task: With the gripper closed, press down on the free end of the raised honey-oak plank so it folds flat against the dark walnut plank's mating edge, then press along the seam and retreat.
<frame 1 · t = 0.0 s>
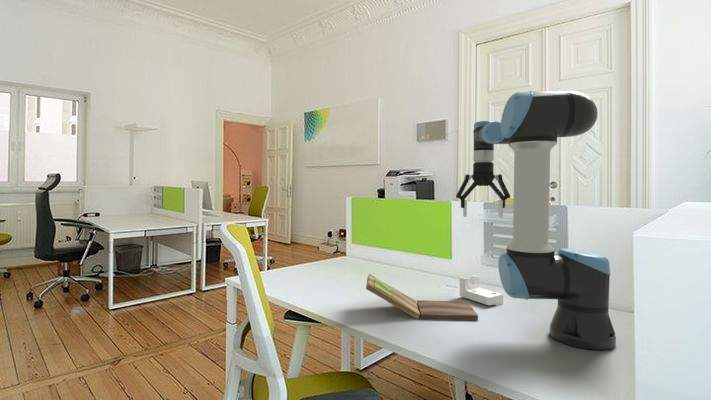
hand: (482, 216, 152), 28 cm above the table, fingers open, 13 cm apart
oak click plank: (392, 294, 125), point 5 cm above the table, hinge at 30.0°
walnut laid plank: (445, 312, 124), on the table
bracket: (480, 302, 136), on the table
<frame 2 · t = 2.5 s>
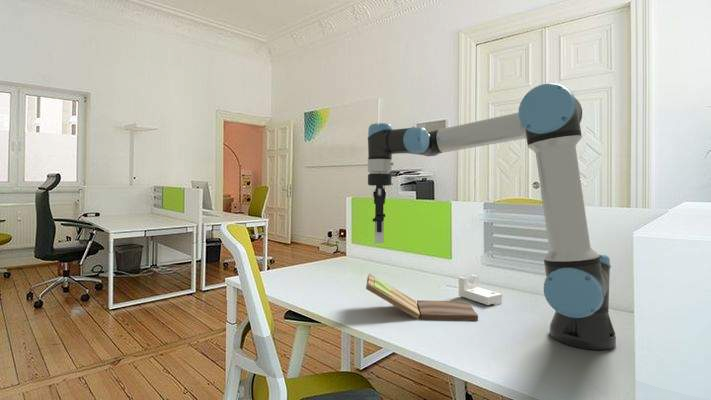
hand: (379, 239, 125), 23 cm above the table, fingers open, 13 cm apart
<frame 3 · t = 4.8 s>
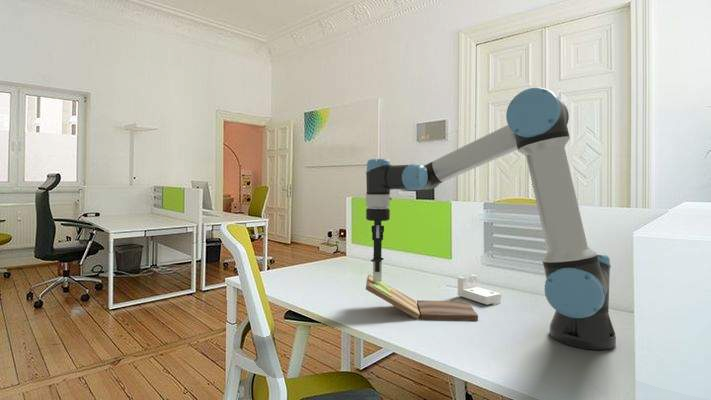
hand: (377, 281, 125), 10 cm above the table, fingers closed
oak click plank: (392, 295, 125), point 5 cm above the table, hinge at 29.4°, touching gripper
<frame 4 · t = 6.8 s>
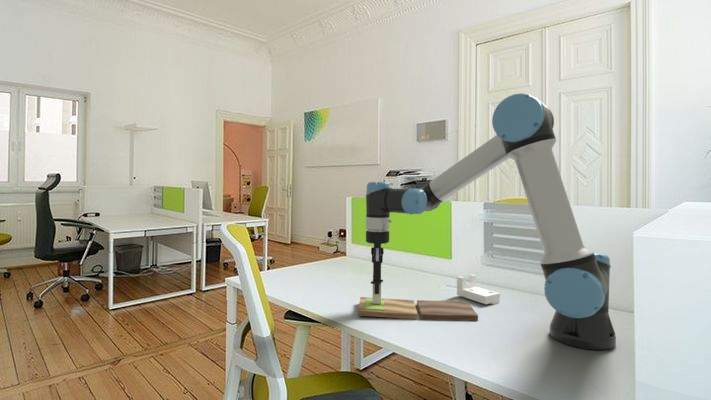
hand: (376, 302, 125), 3 cm above the table, fingers closed
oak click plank: (387, 307, 125), point 1 cm above the table, hinge at 2.5°, touching gripper
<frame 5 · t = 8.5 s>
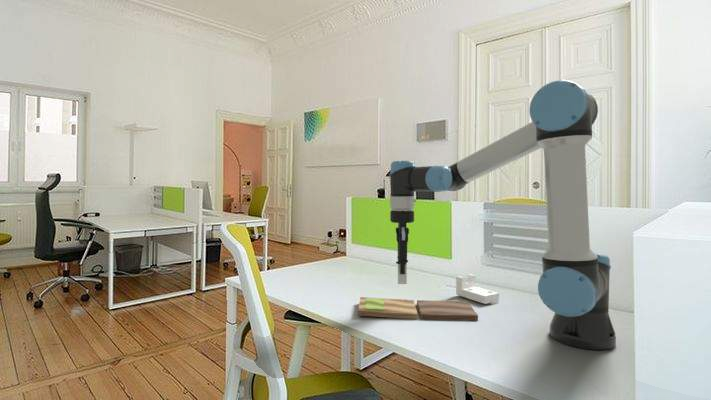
hand: (402, 283, 124), 9 cm above the table, fingers closed
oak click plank: (387, 307, 125), point 1 cm above the table, hinge at 2.5°
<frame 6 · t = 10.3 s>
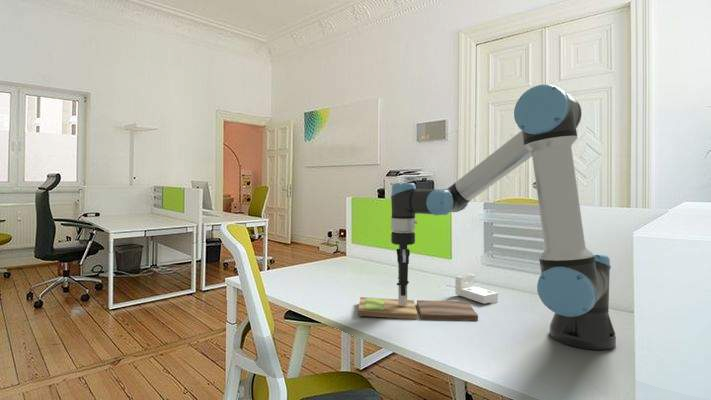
hand: (402, 304, 125), 2 cm above the table, fingers closed
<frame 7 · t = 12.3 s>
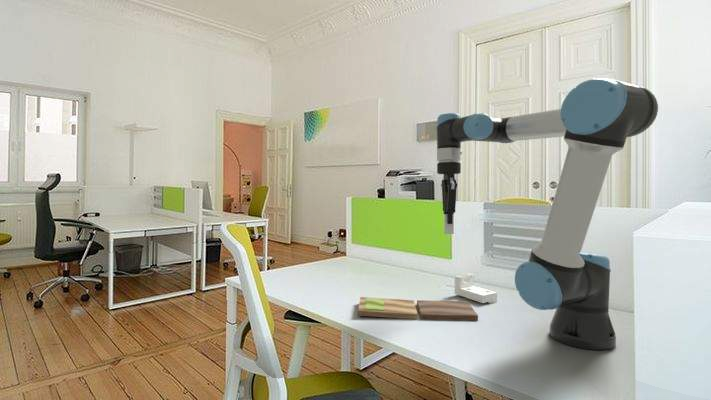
hand: (448, 233, 128), 24 cm above the table, fingers closed
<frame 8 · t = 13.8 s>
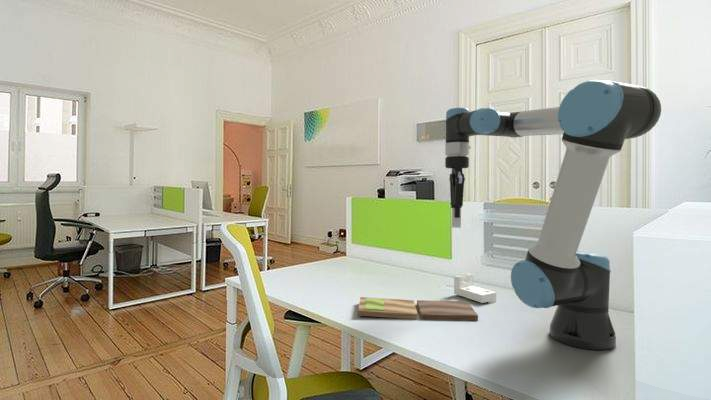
hand: (456, 227, 129), 26 cm above the table, fingers closed
at the end: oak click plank at +2° (first picture: +30°); the gripper is holding nothing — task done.
